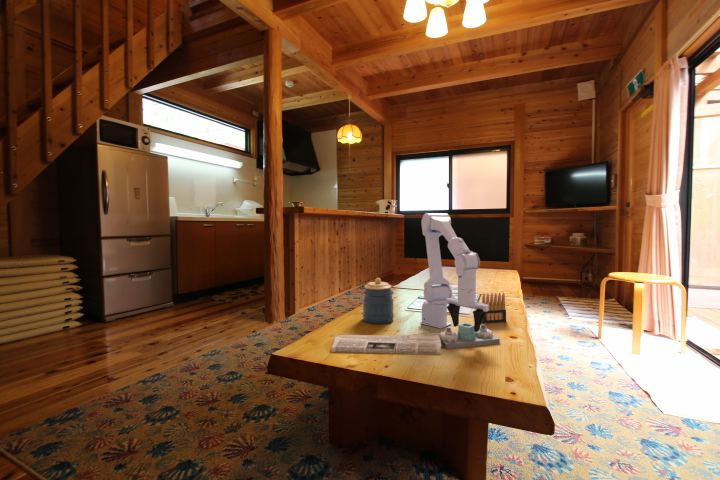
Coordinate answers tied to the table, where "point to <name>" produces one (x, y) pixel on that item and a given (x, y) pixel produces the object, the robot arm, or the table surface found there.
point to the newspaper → (388, 344)
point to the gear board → (453, 341)
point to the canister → (378, 302)
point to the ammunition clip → (494, 309)
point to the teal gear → (466, 331)
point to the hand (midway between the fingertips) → (466, 328)
